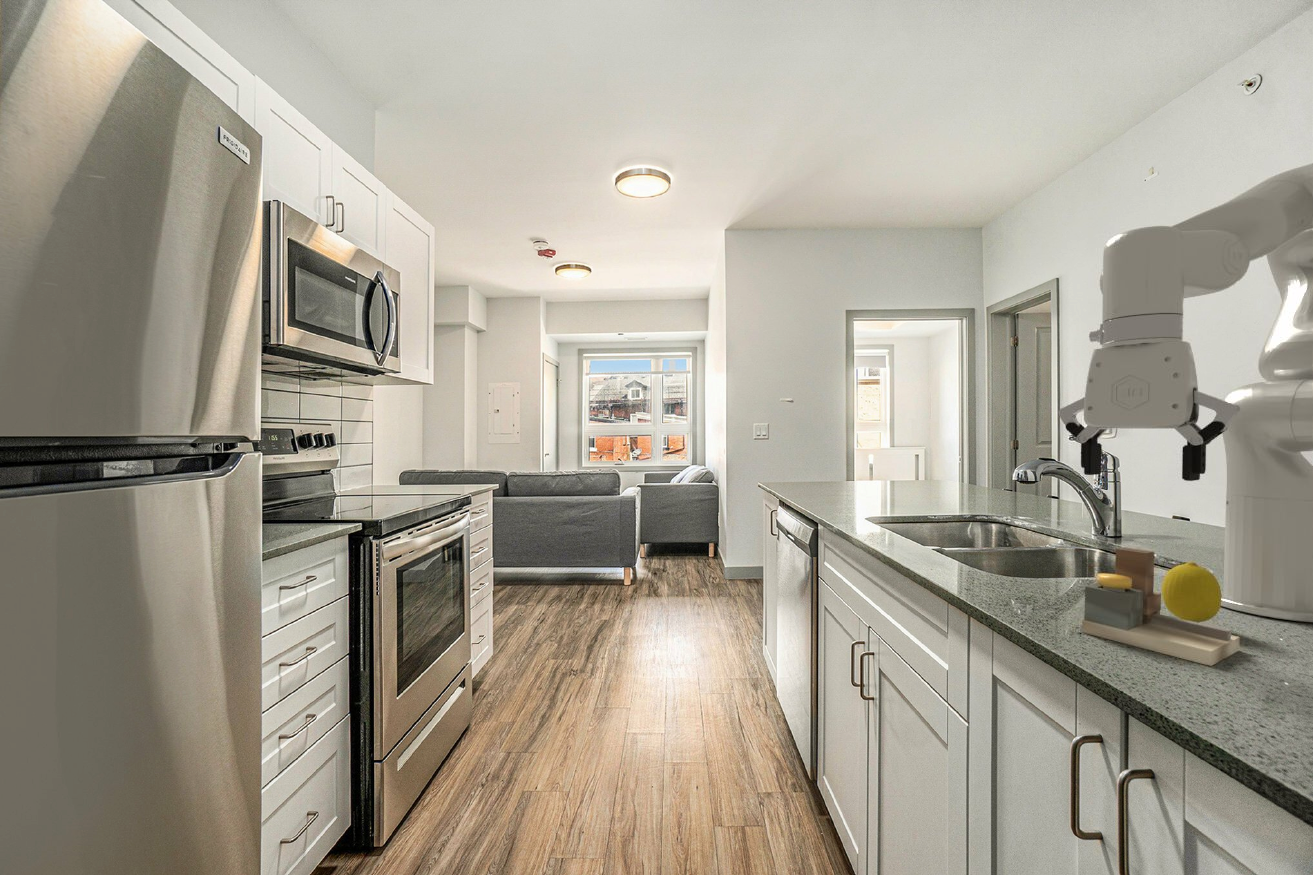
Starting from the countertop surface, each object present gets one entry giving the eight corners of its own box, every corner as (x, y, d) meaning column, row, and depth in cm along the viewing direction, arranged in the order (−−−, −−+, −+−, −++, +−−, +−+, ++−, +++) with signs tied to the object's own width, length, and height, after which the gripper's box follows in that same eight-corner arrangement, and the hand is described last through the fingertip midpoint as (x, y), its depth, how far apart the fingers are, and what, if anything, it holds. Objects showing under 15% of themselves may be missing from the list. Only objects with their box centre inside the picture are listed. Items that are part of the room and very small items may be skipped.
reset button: (1103, 613, 71) (1104, 572, 71) (1135, 621, 68) (1136, 578, 68) (1091, 617, 69) (1092, 575, 69) (1123, 625, 67) (1125, 581, 66)
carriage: (1120, 608, 73) (1122, 545, 73) (1160, 616, 70) (1162, 551, 70) (1106, 612, 71) (1108, 548, 71) (1146, 621, 68) (1148, 554, 68)
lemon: (1232, 635, 70) (1234, 568, 70) (1178, 630, 71) (1180, 564, 71) (1200, 621, 75) (1202, 558, 75) (1150, 617, 76) (1152, 555, 76)
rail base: (1114, 621, 74) (1115, 577, 74) (1239, 650, 65) (1240, 600, 65) (1081, 632, 70) (1083, 586, 70) (1211, 665, 60) (1212, 612, 60)
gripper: (1047, 341, 76) (1045, 473, 76) (1228, 320, 61) (1225, 484, 61) (1074, 346, 80) (1072, 471, 80) (1250, 327, 65) (1248, 481, 65)
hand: (1139, 477), depth 71 cm, fingers open, 9 cm apart
